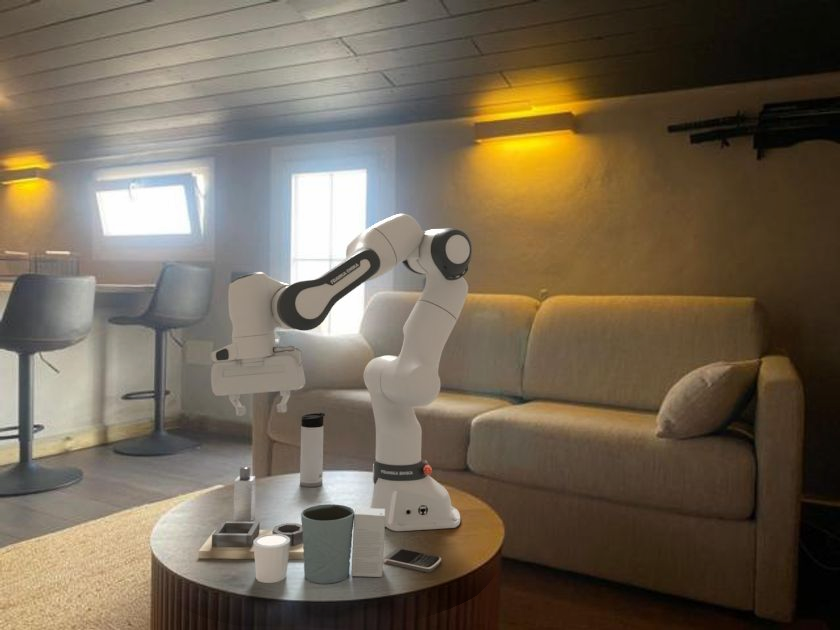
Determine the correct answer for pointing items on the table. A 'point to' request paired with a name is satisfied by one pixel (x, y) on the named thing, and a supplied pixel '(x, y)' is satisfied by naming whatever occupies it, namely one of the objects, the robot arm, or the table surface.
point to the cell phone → (412, 560)
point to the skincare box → (368, 542)
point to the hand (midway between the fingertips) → (261, 413)
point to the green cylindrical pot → (327, 542)
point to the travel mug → (311, 450)
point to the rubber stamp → (244, 496)
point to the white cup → (271, 557)
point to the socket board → (248, 540)
